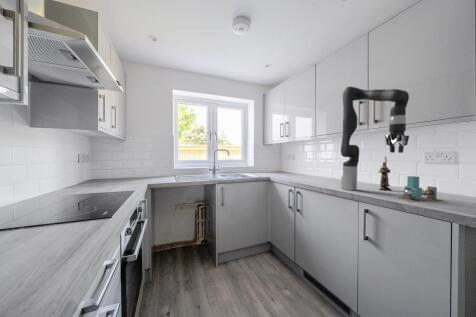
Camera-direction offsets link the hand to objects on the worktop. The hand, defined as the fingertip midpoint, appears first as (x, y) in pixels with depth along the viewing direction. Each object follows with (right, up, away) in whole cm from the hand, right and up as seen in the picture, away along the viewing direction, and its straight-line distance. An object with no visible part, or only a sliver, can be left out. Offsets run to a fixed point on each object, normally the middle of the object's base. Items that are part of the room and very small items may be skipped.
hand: (396, 152), depth 114 cm
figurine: (+15, -27, +29) cm, 43 cm away
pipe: (+11, -28, -3) cm, 30 cm away
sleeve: (+7, -27, -3) cm, 29 cm away
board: (+11, -28, -3) cm, 30 cm away
